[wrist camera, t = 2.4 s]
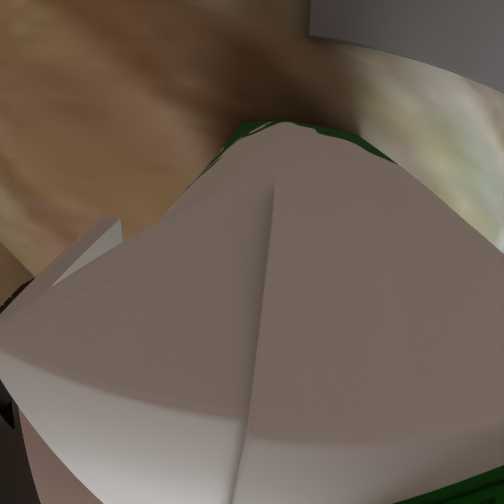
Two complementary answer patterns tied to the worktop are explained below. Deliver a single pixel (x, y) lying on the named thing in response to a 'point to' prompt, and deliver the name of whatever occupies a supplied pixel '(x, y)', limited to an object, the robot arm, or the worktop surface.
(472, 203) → the worktop surface
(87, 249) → the robot arm
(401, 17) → the charcoal mat
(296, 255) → the soya milk
